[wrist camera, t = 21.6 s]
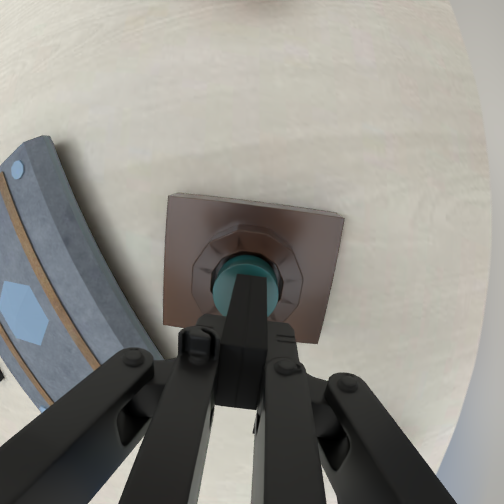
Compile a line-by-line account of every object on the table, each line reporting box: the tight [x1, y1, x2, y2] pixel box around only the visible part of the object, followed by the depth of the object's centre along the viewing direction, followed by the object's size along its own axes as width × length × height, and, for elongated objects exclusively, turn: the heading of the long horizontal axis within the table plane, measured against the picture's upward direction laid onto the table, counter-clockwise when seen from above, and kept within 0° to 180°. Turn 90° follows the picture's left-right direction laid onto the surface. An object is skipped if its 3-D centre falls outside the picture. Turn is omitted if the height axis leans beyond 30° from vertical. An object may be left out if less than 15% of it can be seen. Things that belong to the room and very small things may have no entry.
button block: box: [163, 193, 344, 344], centre depth 20 cm, size 11×9×4 cm
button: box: [213, 255, 279, 317], centre depth 18 cm, size 4×4×2 cm
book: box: [0, 136, 164, 413], centre depth 21 cm, size 21×16×5 cm
